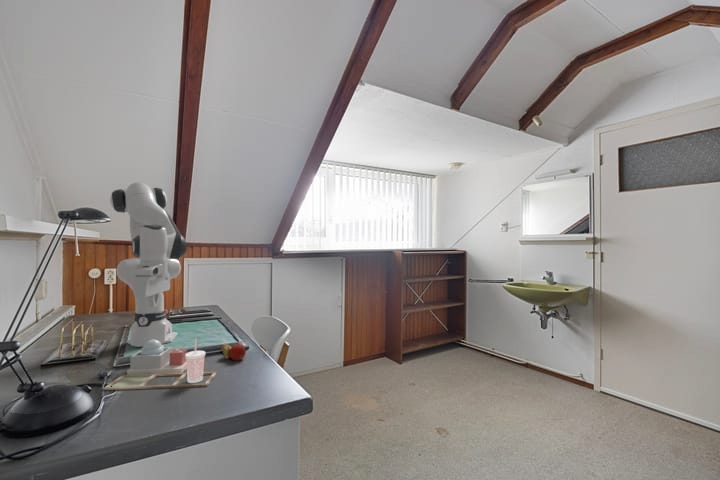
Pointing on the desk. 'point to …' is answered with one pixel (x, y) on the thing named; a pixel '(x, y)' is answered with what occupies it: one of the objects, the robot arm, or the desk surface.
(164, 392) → the desk surface
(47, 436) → the desk surface
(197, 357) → the beverage cup
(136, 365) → the dome housing
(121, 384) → the wooden window frame
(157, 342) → the dome
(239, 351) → the kendama
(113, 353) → the desk surface
